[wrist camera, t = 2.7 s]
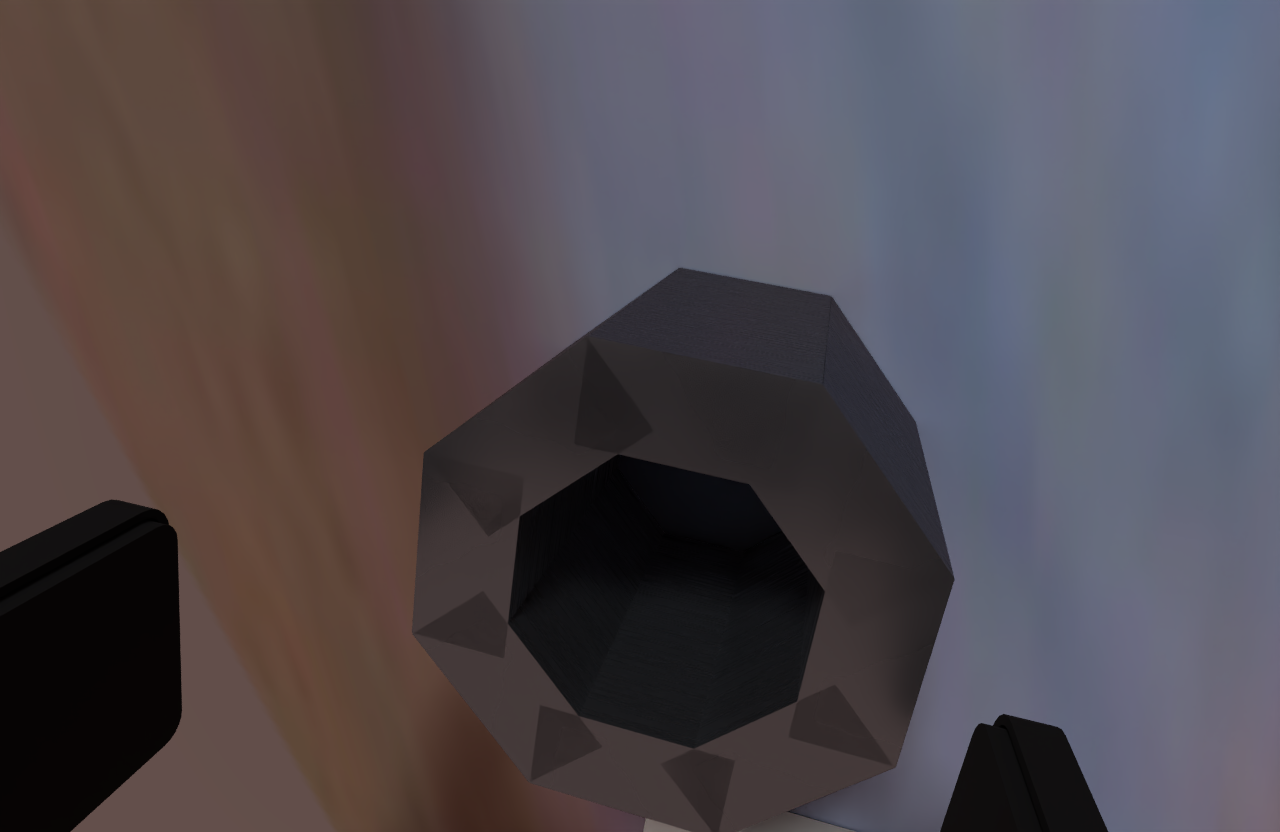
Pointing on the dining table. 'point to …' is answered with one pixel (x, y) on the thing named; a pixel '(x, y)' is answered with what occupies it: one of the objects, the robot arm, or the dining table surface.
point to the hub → (689, 561)
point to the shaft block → (764, 825)
